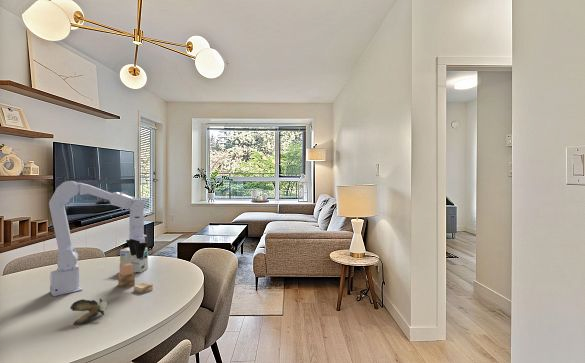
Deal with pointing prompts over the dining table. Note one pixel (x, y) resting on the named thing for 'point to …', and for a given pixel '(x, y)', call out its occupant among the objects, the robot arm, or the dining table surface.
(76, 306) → the eagle figurine
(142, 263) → the light bulb box
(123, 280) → the tower top
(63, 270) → the robot arm
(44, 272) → the dining table surface
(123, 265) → the terracotta cube
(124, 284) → the tower base
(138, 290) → the slab
